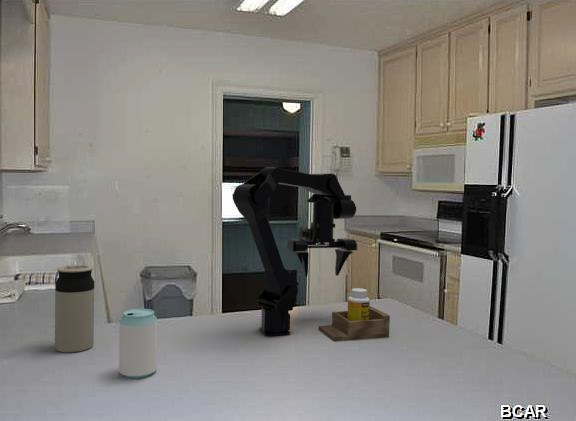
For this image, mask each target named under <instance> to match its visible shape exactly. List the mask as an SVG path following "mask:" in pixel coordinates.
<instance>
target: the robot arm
mask: <svg viewBox="0 0 576 421" xmlns="http://www.w3.org/2000/svg"><path fill="white" fill-rule="evenodd" d="M278 185H284V186H291V187H298V188H301V189H305V190H306V191H307V192H309V193H311V194H312V195H311V196H310V197H309V198H308V199H307V200H306V201H307V203H311V204H312V222H310V227H309V228H308V227H307V226H300V227H299V230H298V231H299V232H298V236H299V238H289V239H288V241H287V243H286V244H287V245H286V246H287V248H286V249H288V250H289V251H291V253H293V254H296V256H297V258H298V260H299V262H300V266H301V269H302V272H303V276H304V277H308V274H309V273H308V272H309V254H310V253H309V252H308V251H307V250H308V249H335V250H334V251H335V255H336V256H335V257H336V258H335V268H334V269H335V272H334V273H335V274H334V275H335V276H337V277H338V276H339V275H340V272H341V271H342V269H343V266H344V265H345V263H346V261H347V259H348V258H349V256H350V255H351V254H354V253H353V252H354V251H358V242H357V241H356V239H351V238H347V237H346V238H337V239H335V238H334V229H335V228H336V223H334V222H335V221H334V220H345V219H352V218H353V217H355V215H356V212H357V206H356V203H355V202H354V200H353V199H352V195H351V194H345V193H344V190H343V188H342V186H341V184H340V181H339V180H338V177H337V175H336V174H335V173H306V172H301V171H297V170H291V169H284V168H280V167H279V166H266V167H264V168H262V169H261V170H260V171H259V172H258V173H256V174H255V175H253V176H252V177H250V178H248V179H247V180H245V182H244V183H243V184H239V185H237V186H236V187H235V188H234V191H233V193H232V195H231V196H232V202H233V203H234V205H235V207H236V210H238V212H239V214H240V216H241V215H242V217H243V218H244V219H245V220H246V221H247V224H248V225H249V226H248V227H249V229H250V232H251V234H252V237H253V241H254V243H255V246H256V249H257V252H258V255H259V257H260V260H261V264H262V266H263V268H264V269H263V270H264V272H265V273H264V278H263V285H264V288H263V290H262V291H261V292H260V293H259V295H257V297H256V303H257V306H258V307H261V324H260V327H259V328H258V329H259V331H260V332H261V333H262V334H263V335H264V336H266V337H270V336H272V337H273V336H285V335H286V336H288V335H291V331H290V330H291V314H290V313H289V312H291V311H293V310H294V306H295V302H296V300H297V296H298V295H299V287H298V286H299V285H300V283H298V281H297V277H296V273H295V271H294V270H290V269H287V268H285V266H284V263H283V261H282V258H281V254H280V251H279V248H278V245H277V243H276V239H275V236H274V233H273V231H272V226H271V224H270V221H269V217H268V214H269V209H270V202H269V198H270V197H271V196H272V195H273V194H274V193H275V191H276V188H277V186H278Z"/></svg>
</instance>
